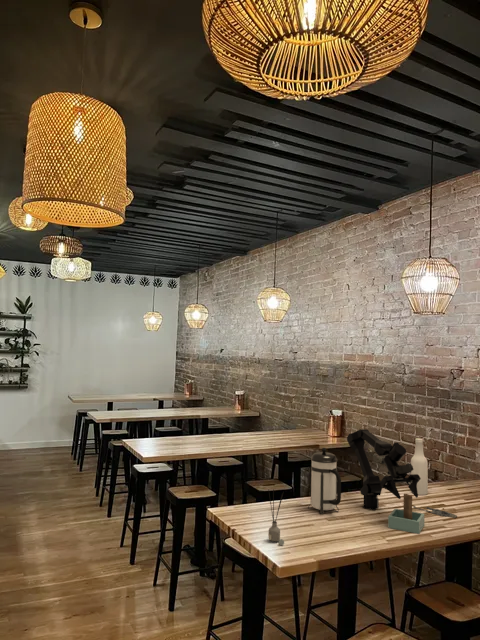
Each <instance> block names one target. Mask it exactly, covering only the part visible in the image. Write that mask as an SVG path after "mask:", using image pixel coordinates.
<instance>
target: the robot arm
mask: <svg viewBox="0 0 480 640" xmlns="http://www.w3.org/2000/svg"><path fill="white" fill-rule="evenodd" d="M346 440H347V443H348V446H349V447H350V448H351V449H352V450H353V451H354V453H355V456H356V458H357V460H358V464H359V466H360V469H361V473H362V475H363V480H362V487H361V488H360V491H359V492H360V495H362V496H363V505H362V508H364V509H369V510H374V511H375V510H377V509H378V508H379V501H380V500H379V498H378V496H381V494H382V489H383V488H384V490H387V491H389V492H390V493H391V494H392V495H394V497H396V498H397V499H399V500H400V499H401V498H402V497H401V494H400V492H399V490H398V488H397V486H396V484H398V483H399V484H401V483H406V484H407V486H408V489H409V490H410V491H412V492H411V493H412V495H413V496H415V498H418V497H419V495H418V492H417V483H418V482H419V480H420V479H421V478H420V476H419V475H418V474H411V471H412V470H413V466H412V465H411V462H410V463H407V464H403V465H402V464H399V462H400V461H401V460H402V459H403V457H404V456H405V455H406V454H407V448H405V447H404V446H403V445H401V444H400V443H399V442H394V443H393V445H392V444H391V443H389V442H388V441H383V440H381V439H379V438H378V437H377V436H376V435H374V433H373V434H372V433H371V432H370V431H369V430H368V429H367V428H366V429H365V428H362V429H358V430H357V431H354V432H352V433H348V435H347V437H346ZM365 443H368V444H369V445H370V446H371V447H373V450H374V452H375V453H376V454H377V455H378V456H379V457H382V460H381V464H382V465H385V467H386V469H387V471H386V472H387V475H384V476H383V477H382V479H380V476H379V475H376V474H374V472H373V469H372V465H371V463H370V461H369V458H368V456H367V453H366V450H365ZM409 473H410V474H409ZM408 474H409V475H408ZM407 476H408V477H407Z"/></svg>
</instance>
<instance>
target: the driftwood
mask: <svg viewBox="0 0 480 640" xmlns="http://www.w3.org/2000/svg"><path fill="white" fill-rule="evenodd" d="M412 508H415V509H416V510H417V509H418V510H421V511H424V512H428V513H431V514H434V515H437V516H440V517H444V518H449V519H450V518H451V519H452V518H453V519H456V518H457V517H458V515H457V514H454V513H452V512H448V511H445V510H440V509H438V508H432V507H428V506H427V507H424V508H425V509H422V508H420V507H416V505H412Z"/></svg>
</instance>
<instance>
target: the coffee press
mask: <svg viewBox="0 0 480 640" xmlns="http://www.w3.org/2000/svg"><path fill="white" fill-rule="evenodd" d="M310 460H311V464H310V465H311V466H310V504H309V505H308V506H307V508H308V509H309V510H311V509H312V508H314V509H316V510H319V515H324V511H331V510H334V511H335V512H336V513H339V511H340V509H339V507H338V506H339V504H341V501H342V477H341V475H340V473H339V471H338V466H337V462H338V458H337V457H336V455H335V454H333V453H332V452H327V448H326V447H322V449H321V451H317V452H314V453H313V454H312V455H311V457H310ZM310 506H311V507H310Z"/></svg>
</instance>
